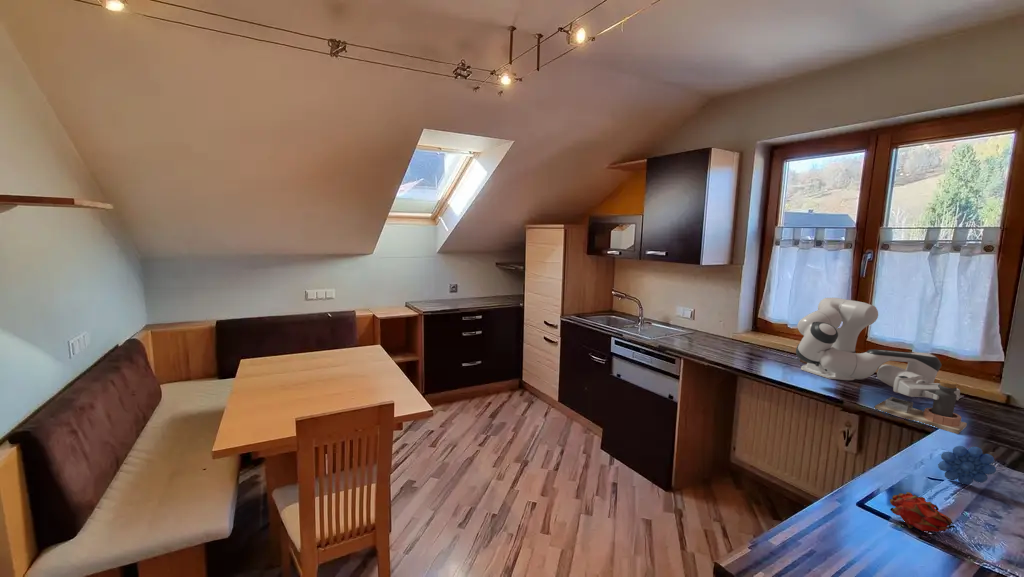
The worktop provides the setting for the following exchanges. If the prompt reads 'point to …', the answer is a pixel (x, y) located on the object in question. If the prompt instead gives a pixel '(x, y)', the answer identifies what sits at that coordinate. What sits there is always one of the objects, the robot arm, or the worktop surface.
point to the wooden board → (920, 418)
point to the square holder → (899, 404)
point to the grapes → (967, 465)
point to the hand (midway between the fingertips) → (947, 398)
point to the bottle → (945, 399)
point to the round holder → (942, 418)
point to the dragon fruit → (919, 513)
